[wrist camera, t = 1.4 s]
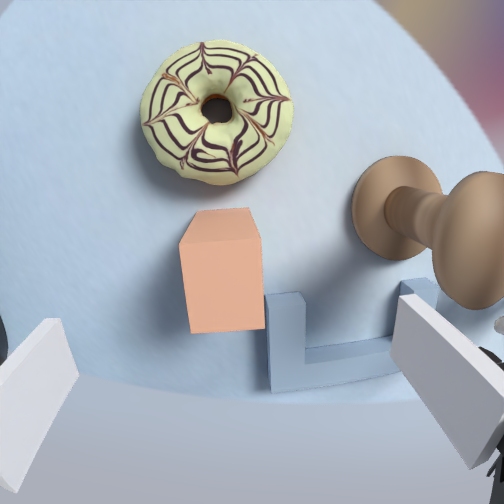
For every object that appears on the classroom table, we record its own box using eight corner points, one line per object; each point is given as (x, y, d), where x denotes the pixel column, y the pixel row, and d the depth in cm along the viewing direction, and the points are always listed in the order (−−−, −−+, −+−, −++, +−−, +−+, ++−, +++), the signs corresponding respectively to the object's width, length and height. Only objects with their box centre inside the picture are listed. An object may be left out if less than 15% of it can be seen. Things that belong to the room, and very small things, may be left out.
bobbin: (350, 260, 27) (425, 329, 15) (350, 154, 24) (441, 157, 13) (432, 252, 28) (521, 304, 16) (437, 158, 25) (539, 170, 13)
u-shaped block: (268, 377, 30) (271, 393, 28) (265, 294, 27) (268, 307, 25) (412, 353, 31) (422, 365, 28) (426, 277, 28) (439, 286, 26)
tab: (203, 271, 26) (190, 333, 17) (197, 211, 25) (178, 244, 15) (251, 267, 27) (265, 328, 17) (248, 207, 25) (260, 238, 16)
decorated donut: (237, 206, 25) (239, 214, 22) (125, 137, 23) (109, 135, 19) (310, 100, 23) (324, 91, 20) (198, 32, 21) (194, 13, 17)
